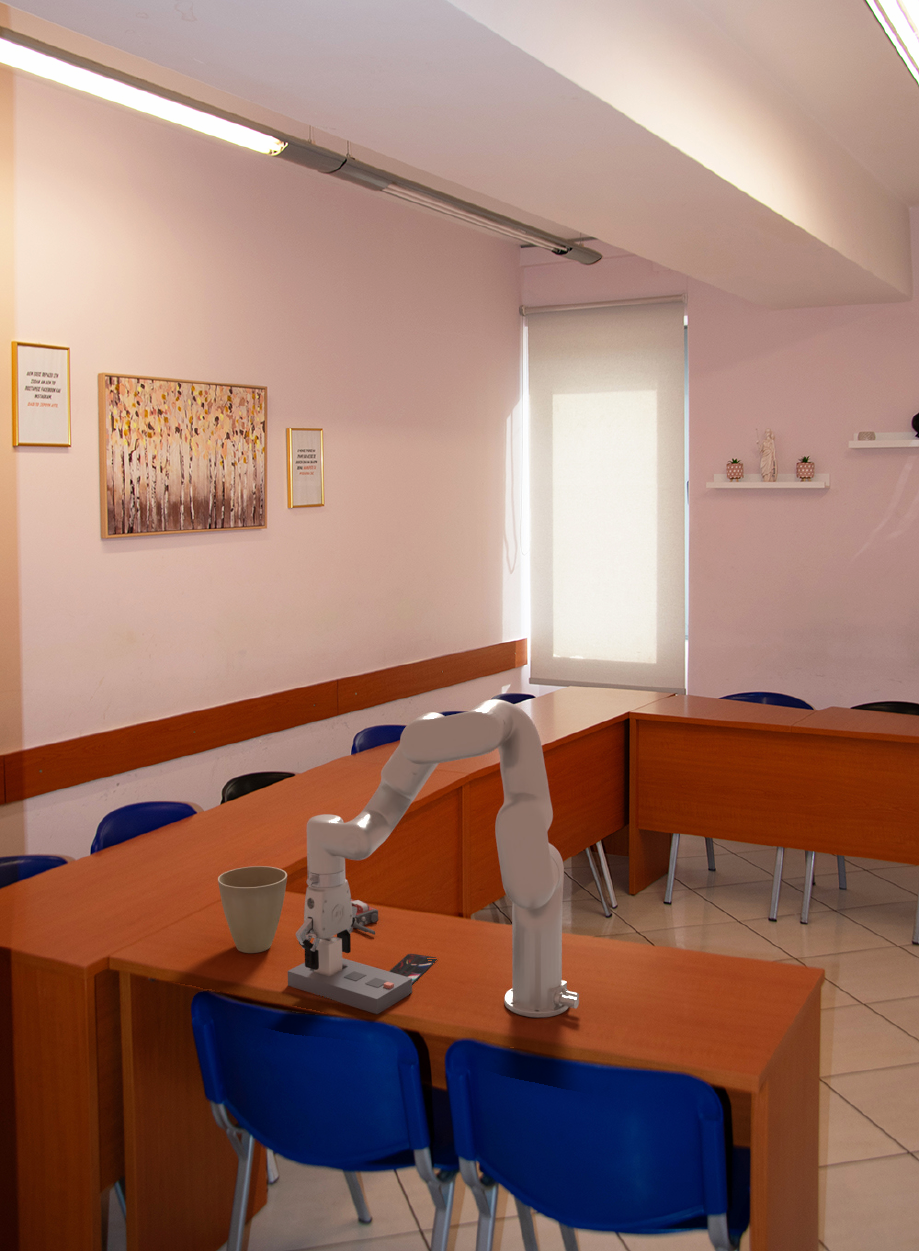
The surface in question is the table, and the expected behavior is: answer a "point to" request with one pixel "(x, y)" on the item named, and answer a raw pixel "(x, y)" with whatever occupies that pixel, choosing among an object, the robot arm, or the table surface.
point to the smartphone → (413, 966)
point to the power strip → (354, 985)
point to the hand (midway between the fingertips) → (328, 959)
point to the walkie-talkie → (364, 916)
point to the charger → (330, 956)
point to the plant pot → (253, 905)
